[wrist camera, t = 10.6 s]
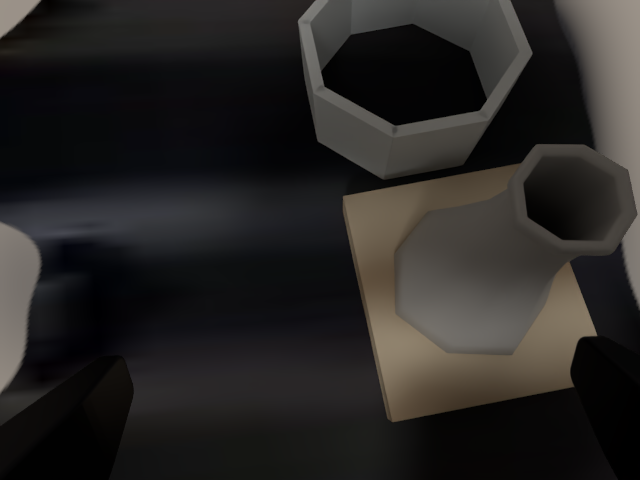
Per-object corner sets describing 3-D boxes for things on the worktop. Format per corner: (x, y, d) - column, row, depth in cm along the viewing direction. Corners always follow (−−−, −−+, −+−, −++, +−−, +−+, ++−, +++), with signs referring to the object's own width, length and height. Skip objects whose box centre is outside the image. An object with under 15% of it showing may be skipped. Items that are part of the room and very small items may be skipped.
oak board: (588, 379, 21) (614, 378, 19) (387, 418, 21) (392, 422, 19) (515, 178, 24) (530, 161, 22) (342, 210, 24) (343, 196, 22)
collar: (518, 155, 25) (555, 108, 21) (327, 190, 25) (325, 150, 20) (463, 7, 28) (485, -60, 24) (295, 36, 28) (288, -25, 24)
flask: (370, 325, 20) (398, 277, 11) (414, 192, 22) (471, 51, 13) (525, 382, 19) (709, 384, 10) (557, 237, 21) (735, 120, 12)
